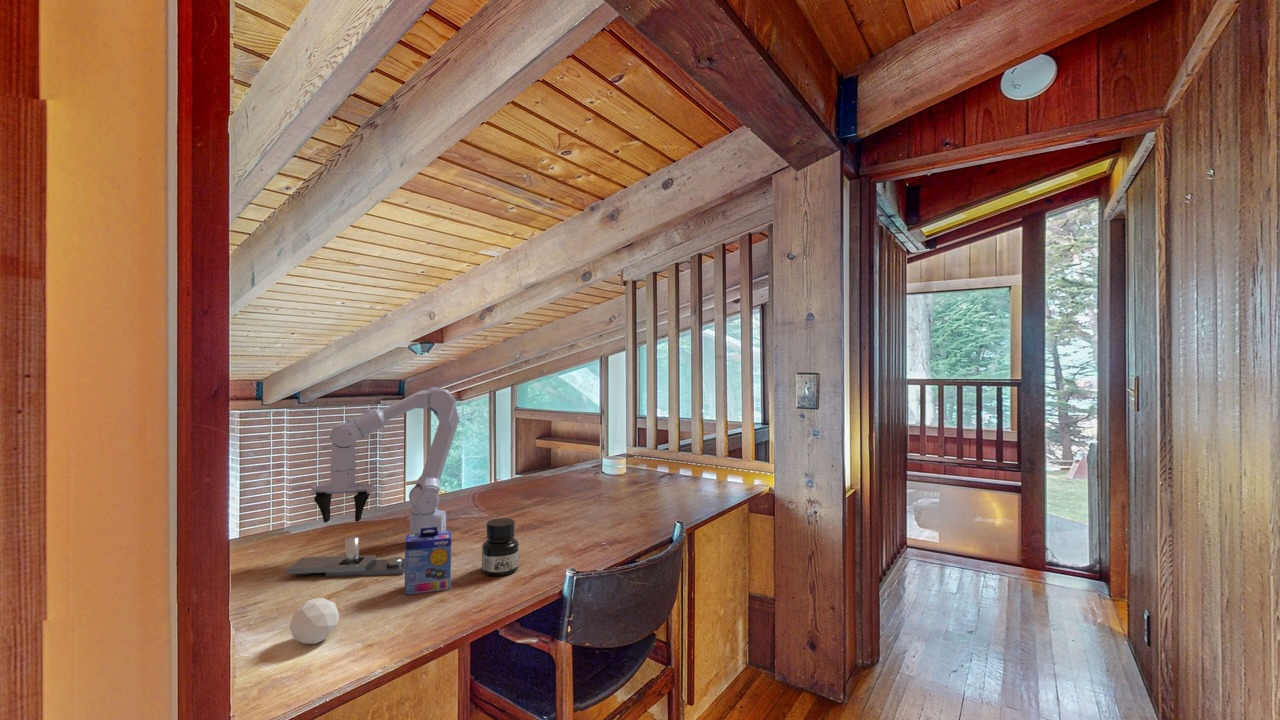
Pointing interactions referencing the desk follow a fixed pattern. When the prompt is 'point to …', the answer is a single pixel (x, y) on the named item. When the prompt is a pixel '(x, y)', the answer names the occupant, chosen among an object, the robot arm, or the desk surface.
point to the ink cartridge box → (428, 561)
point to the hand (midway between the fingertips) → (342, 520)
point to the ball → (314, 621)
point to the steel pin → (352, 550)
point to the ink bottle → (500, 548)
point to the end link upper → (329, 565)
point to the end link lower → (376, 568)
